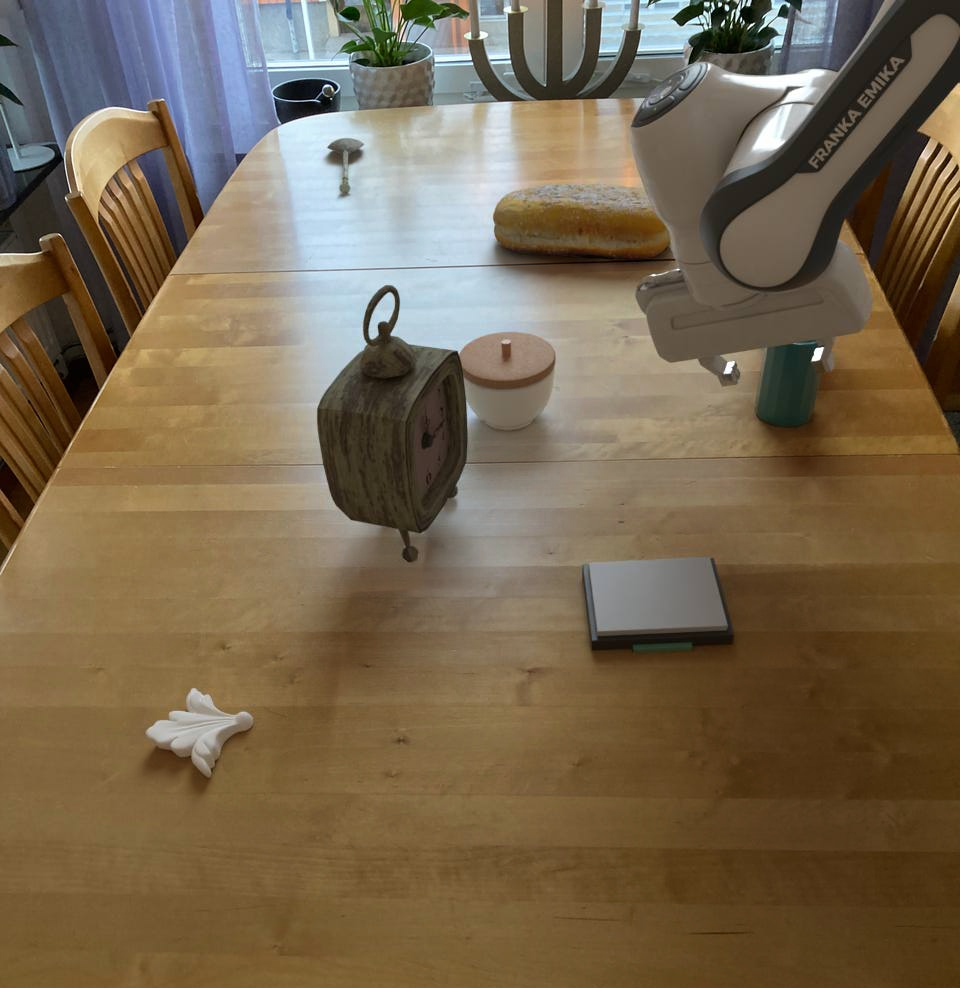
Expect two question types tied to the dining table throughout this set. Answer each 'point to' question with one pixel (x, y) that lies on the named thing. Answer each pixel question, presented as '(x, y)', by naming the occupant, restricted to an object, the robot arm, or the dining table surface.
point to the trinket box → (508, 378)
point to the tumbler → (788, 384)
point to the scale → (655, 605)
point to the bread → (581, 222)
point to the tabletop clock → (394, 431)
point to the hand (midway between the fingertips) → (777, 375)
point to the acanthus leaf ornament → (198, 731)
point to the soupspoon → (345, 156)
